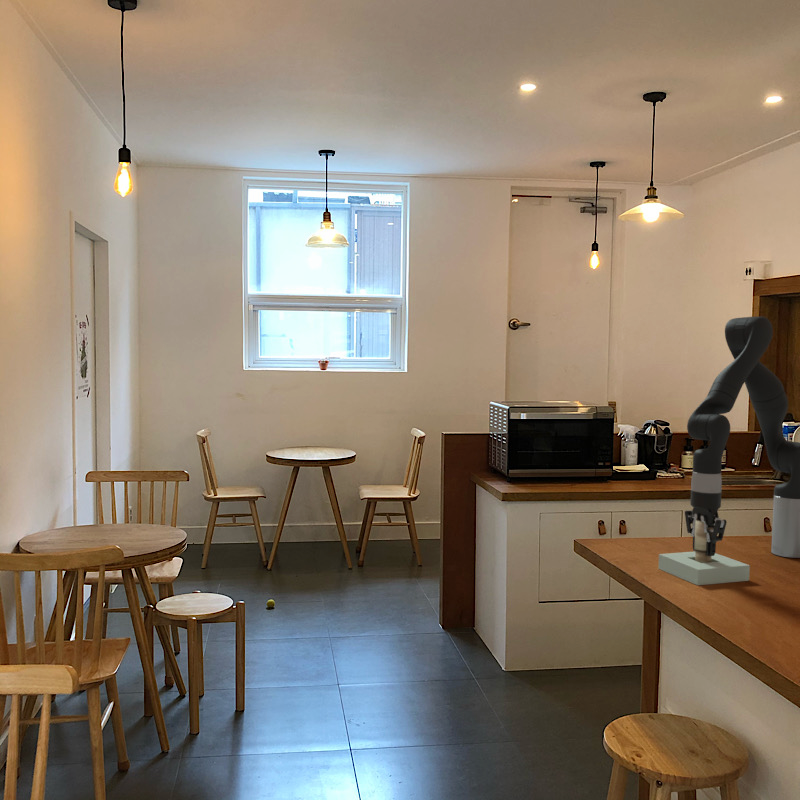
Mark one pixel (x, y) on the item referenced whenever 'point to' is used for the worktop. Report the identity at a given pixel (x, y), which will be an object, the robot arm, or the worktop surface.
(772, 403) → the robot arm
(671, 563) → the board
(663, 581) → the worktop surface
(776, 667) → the worktop surface
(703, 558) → the peg
